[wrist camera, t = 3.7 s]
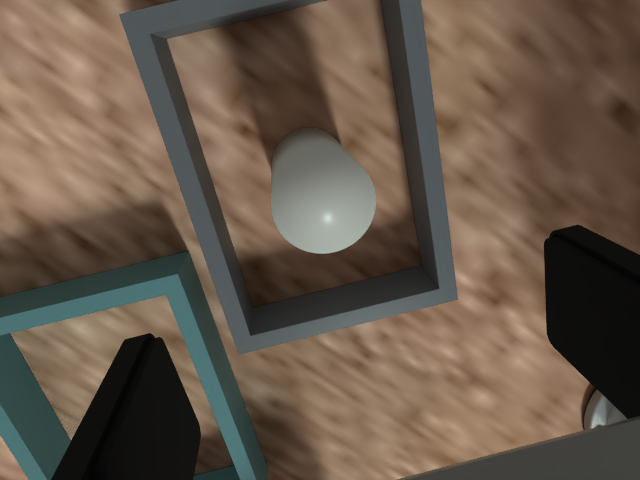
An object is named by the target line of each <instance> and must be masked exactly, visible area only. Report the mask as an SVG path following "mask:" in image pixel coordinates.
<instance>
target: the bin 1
mask: <svg viewBox="0 0 640 480" xmlns="http://www.w3.org/2000/svg"><path fill="white" fill-rule="evenodd" d="M162 295H166V296H167V298H168V301H169V303H170V306H171V308H172V311H173V313H174V316H175V318H176V321H177V323H178V326H179V328H180V331H181V333H182V336H183V338H184V341H185V343H186V345H187V348H188V350H189V353H190V355H191V358H192V360H193V363H194V365H195V368H196V370H197V373H198V375H199V378H200V380H201V383H202V385H203V388H204V390H205V393H206V395H207V398H208V400H209V403H210V405H211V408H212V410H213V413H214V415H215V418H216V420H217V423H218V425H219V428H220V430H221V433H222V435H223V438H224V440H225V443H226V445H227V448H228V450H229V453H230V455H231V458H232V460H233V463H234V466H230V467H226V468H222V469H218V470H214V471H210V472H206V473H202V474H198V475H194V477H193V480H267V465H266V462H265V459H264V457H263V454H262V451H261V448H260V446H259V443H258V440H257V437H256V435H255V432H254V429H253V426H252V424H251V421H250V418H249V415H248V413H247V410H246V407H245V404H244V402H243V399H242V396H241V393H240V391H239V388H238V385H237V382H236V380H235V377H234V374H233V371H232V369H231V366H230V363H229V360H228V358H227V355H226V352H225V349H224V347H223V344H222V341H221V338H220V336H219V333H218V330H217V327H216V325H215V322H214V319H213V316H212V314H211V311H210V308H209V305H208V303H207V300H206V297H205V294H204V292H203V289H202V286H201V283H200V281H199V278H198V275H197V272H196V270H195V267H194V264H193V261H192V259H191V256H190V253H189V251H187V252H183V253H179V254H174V255H170V256H166V257H162V258H158V259H154V260H150V261H146V262H142V263H138V264H134V265H130V266H126V267H122V268H118V269H114V270H109V271H105V272H101V273H97V274H93V275H89V276H85V277H81V278H77V279H73V280H69V281H65V282H61V283H57V284H53V285H49V286H45V287H40V288H36V289H32V290H28V291H24V292H20V293H16V294H12V295H8V296H4V297H0V435H1V437H2V438H3V440H4V441H5V443H6V445H7V446H8V448H9V449H10V451H11V452H12V454H13V455H14V457H15V459H16V460H17V462H18V463H19V465H20V466H21V468H22V469H23V471H24V473H25V474H26V476H27V477H28V479H29V480H51V478H52V477H53V475H54V473H55V471H56V469H57V467H58V465H59V463H60V461H61V459H62V458H63V456H64V454H65V452H66V450H67V448H68V446H69V444H70V442H71V440H70V439H69V437H68V435H67V433H66V432H65V430H64V428H63V426H62V425H61V423H60V421H59V419H58V417H57V416H56V414H55V412H54V410H53V409H52V407H51V405H50V403H49V402H48V400H47V398H46V396H45V395H44V393H43V391H42V389H41V388H40V386H39V384H38V382H37V381H36V379H35V377H34V375H33V374H32V372H31V370H30V368H29V367H28V365H27V363H26V361H25V360H24V358H23V356H22V354H21V353H20V351H19V349H18V347H17V346H16V344H15V342H14V340H13V339H12V337H11V335H10V333H12V332H16V331H20V330H24V329H28V328H32V327H36V326H40V325H45V324H49V323H53V322H57V321H61V320H65V319H69V318H73V317H77V316H81V315H85V314H89V313H93V312H97V311H101V310H105V309H109V308H113V307H117V306H121V305H125V304H129V303H133V302H137V301H142V300H146V299H150V298H154V297H158V296H162Z"/></svg>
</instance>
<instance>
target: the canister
mask: <svg viewBox="0 0 640 480" xmlns="http://www.w3.org/2000/svg"><path fill="white" fill-rule="evenodd" d="M375 208H376V194H375V189H374V185H373V183H372V180H371V178H370V177H369V175H368V173H367V172H366V171H365V170H364V168H363V167H362V166H361V165H360V164H359V163H358V162H357V161H356V160H355V159H354V158H353V157H352V156H351V155H350V154H349V153H348V152H347V150H346V149H345V148H344V147H343V146H342V145H341V144H340V143H339V142H338V141H337V140H336V139H335V138H334V137H333V136H332V135H330V134H329V133H327V132H325V131H323V130H320V129H317V128H301V129H298V130H295V131H293V132H291V133H289V134H288V135H286V136H285V137H284V138H283V139H282V140H281V141H280V142H279V144H278V145H277V147H276V149H275V151H274V154H273V158H272V176H271V211H272V216H273V219H274V222H275V225H276V226H277V228H278V230H279V232H280V233H281V234H282V236H283V237H284V238H285V239H286V240H287V241H288V242H290V243H291V244H292V245H294V246H295V247H297V248H299V249H301V250H304V251H307V252H311V253H319V254H325V253H333V252H337V251H340V250H343V249H345V248H347V247H349V246H351V245H352V244H354V243H355V242H356V241H358V240H359V239H360V238H361V237H362V236H363V235H364V233H365V232H366V231H367V229H368V228H369V226H370V224H371V222H372V220H373V217H374V213H375Z"/></svg>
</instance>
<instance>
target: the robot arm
mask: <svg viewBox="0 0 640 480" xmlns="http://www.w3.org/2000/svg"><path fill="white" fill-rule="evenodd" d="M544 261H545V292H546V323H547V335H548V339H549V341H550V343H551V344H552V346H553V347H554V348H555V349H556V350H557V351H558V352H559V353H560V354H561V355H562V356H563V357H564V358H565V359H566V360H567V361H568V362H569V363H570V364H572V365H573V366H574V367H575V368H576V369H577V370H578V371H579V372H580V373H581V374H582V375H583V376H584V377H585V378H586V379H587V380H588V381H589V382H590V383H591V384H592V385H593V386H594V387H595V388H596V391H595V392H594V393H593V395H592V397H591V399H590V401H589V403H588V405H587V408H586V412H585V416H584V429H585V430H584V431H580V432H576V433H573V434H569V435H565V436H561V437H557V438H553V439H549V440H545V441H542V442H538V443H534V444H530V445H526V446H522V447H518V448H515V449H511V450H507V451H503V452H499V453H496V454H492V455H488V456H484V457H480V458H477V459H473V460H469V461H465V462H461V463H458V464H454V465H450V466H446V467H442V468H439V469H435V470H431V471H427V472H424V473H420V474H416V475H412V476H409V477H405V478H401V479H397V480H640V255H638V254H636V253H634V252H632V251H630V250H628V249H626V248H624V247H622V246H620V245H618V244H616V243H614V242H612V241H610V240H608V239H606V238H604V237H602V236H600V235H598V234H596V233H594V232H592V231H590V230H588V229H586V228H584V227H582V226H580V225H575V226H571V227H567V228H563V229H559V230H555V231H553V232H552V233H551V234H550V237H549V238H547V239H546V240H545V242H544ZM200 437H201V432H200V426H199V422H198V420H197V418H196V415H195V413H194V411H193V408H192V406H191V404H190V401H189V399H188V396H187V394H186V392H185V389H184V387H183V385H182V382H181V380H180V378H179V375H178V373H177V371H176V368H175V366H174V364H173V361H172V359H171V357H170V354H169V352H168V350H167V347H166V345H165V343H164V341H163V339H162V338H160V337H158V338H155V337H154V336H153V335H152V334H150V333H149V334H145V335H141V336H137V337H133V338H129V339H126V340H124V342H123V343H122V345H121V347H120V349H119V351H118V353H117V355H116V357H115V358H114V360H113V362H112V364H111V366H110V368H109V370H108V372H107V374H106V376H105V377H104V379H103V381H102V383H101V385H100V387H99V389H98V391H97V393H96V395H95V397H94V398H93V400H92V402H91V404H90V406H89V408H88V410H87V412H86V414H85V416H84V417H83V419H82V421H81V423H80V425H79V427H78V429H77V431H76V433H75V435H74V437H73V438H72V440H71V442H70V444H69V446H68V448H67V450H66V452H65V454H64V456H63V458H62V459H61V461H60V463H59V465H58V467H57V469H56V471H55V473H54V475H53V477H52V478H51V480H193V477H194V472H195V466H196V461H197V455H198V450H199V444H200Z"/></svg>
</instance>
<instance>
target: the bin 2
mask: <svg viewBox="0 0 640 480" xmlns="http://www.w3.org/2000/svg"><path fill="white" fill-rule="evenodd" d="M322 1H326V0H177V1H173V2H169V3H165V4H160V5H156V6H152V7H148V8H144V9H139V10H135V11H131V12H127V13H123V14H119V15H120V18H121V21H122V24H123V27H124V30H125V32H126V35H127V38H128V41H129V44H130V47H131V49H132V52H133V55H134V58H135V61H136V64H137V67H138V69H139V72H140V75H141V78H142V81H143V84H144V86H145V89H146V92H147V95H148V98H149V101H150V104H151V106H152V109H153V112H154V115H155V118H156V121H157V123H158V126H159V129H160V132H161V135H162V138H163V140H164V143H165V146H166V149H167V152H168V155H169V158H170V160H171V163H172V166H173V169H174V172H175V175H176V177H177V180H178V183H179V186H180V189H181V192H182V195H183V197H184V200H185V203H186V206H187V209H188V212H189V214H190V217H191V220H192V223H193V226H194V229H195V232H196V234H197V237H198V240H199V243H200V246H201V249H202V251H203V254H204V257H205V260H206V263H207V266H208V269H209V271H210V274H211V277H212V280H213V283H214V286H215V288H216V291H217V294H218V297H219V300H220V303H221V306H222V308H223V311H224V314H225V317H226V320H227V323H228V325H229V328H230V331H231V334H232V337H233V340H234V343H235V345H236V348H237V351H238V354H242V353H246V352H250V351H254V350H258V349H262V348H266V347H270V346H274V345H278V344H282V343H286V342H290V341H294V340H298V339H302V338H306V337H310V336H314V335H318V334H322V333H326V332H330V331H334V330H338V329H342V328H346V327H350V326H354V325H358V324H362V323H366V322H370V321H374V320H378V319H382V318H386V317H390V316H394V315H398V314H402V313H406V312H410V311H414V310H418V309H422V308H426V307H430V306H434V305H438V304H442V303H446V302H450V301H454V300H458V296H457V288H456V280H455V272H454V264H453V256H452V248H451V239H450V231H449V223H448V215H447V207H446V199H445V191H444V183H443V175H442V167H441V159H440V151H439V143H438V135H437V127H436V119H435V111H434V102H433V94H432V86H431V78H430V70H429V62H428V54H427V46H426V38H425V30H424V22H423V14H422V6H421V0H381V4H382V11H383V17H384V24H385V30H386V37H387V43H388V50H389V56H390V63H391V69H392V76H393V82H394V89H395V95H396V102H397V108H398V115H399V121H400V128H401V134H402V141H403V147H404V154H405V160H406V167H407V173H408V180H409V186H410V193H411V199H412V206H413V212H414V219H415V225H416V232H417V238H418V245H419V251H420V258H421V264H422V266H419V267H415V268H411V269H407V270H403V271H399V272H395V273H391V274H387V275H383V276H379V277H375V278H371V279H367V280H363V281H359V282H355V283H351V284H347V285H343V286H339V287H335V288H331V289H327V290H323V291H319V292H315V293H311V294H307V295H303V296H299V297H295V298H291V299H287V300H283V301H278V302H274V303H270V304H266V305H262V306H258V307H254V308H253V306H252V303H251V300H250V297H249V294H248V291H247V288H246V285H245V282H244V279H243V275H242V272H241V269H240V266H239V263H238V260H237V257H236V254H235V251H234V247H233V244H232V241H231V238H230V235H229V232H228V229H227V226H226V223H225V220H224V216H223V213H222V210H221V207H220V204H219V201H218V198H217V195H216V192H215V188H214V185H213V182H212V179H211V176H210V173H209V170H208V167H207V164H206V161H205V157H204V154H203V151H202V148H201V145H200V142H199V139H198V136H197V133H196V129H195V126H194V123H193V120H192V117H191V114H190V111H189V108H188V105H187V102H186V98H185V95H184V92H183V89H182V86H181V83H180V80H179V77H178V74H177V70H176V67H175V64H174V61H173V58H172V55H171V52H170V49H169V46H168V42H167V39H168V38H172V37H176V36H181V35H185V34H189V33H193V32H197V31H201V30H206V29H210V28H214V27H218V26H222V25H226V24H231V23H235V22H239V21H243V20H247V19H251V18H256V17H260V16H264V15H268V14H272V13H276V12H281V11H285V10H289V9H293V8H297V7H301V6H306V5H310V4H314V3H318V2H322Z"/></svg>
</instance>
